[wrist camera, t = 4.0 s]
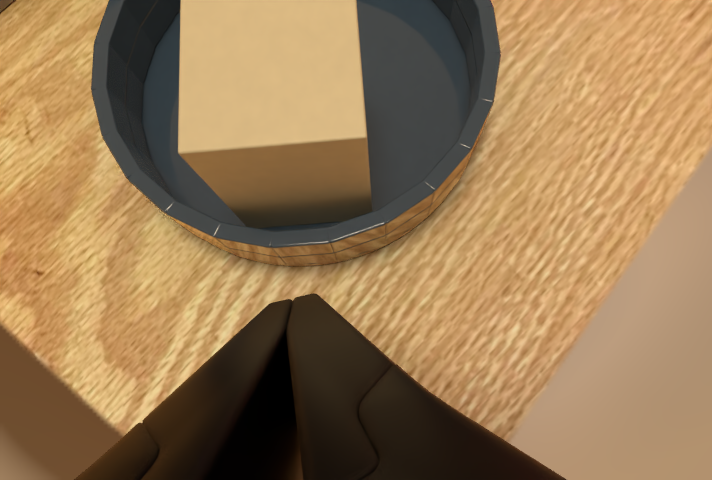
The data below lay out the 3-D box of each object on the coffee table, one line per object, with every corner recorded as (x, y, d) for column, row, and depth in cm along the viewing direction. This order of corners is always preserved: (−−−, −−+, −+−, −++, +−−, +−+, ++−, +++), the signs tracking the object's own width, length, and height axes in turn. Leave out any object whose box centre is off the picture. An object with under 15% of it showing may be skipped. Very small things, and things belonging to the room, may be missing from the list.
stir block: (373, 219, 21) (367, 137, 13) (248, 229, 21) (176, 153, 14) (364, 106, 22) (354, -26, 15) (246, 116, 22) (179, -9, 15)
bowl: (504, 251, 21) (528, 227, 17) (127, 280, 21) (79, 263, 18) (459, -65, 24) (472, -135, 21) (140, -34, 25) (102, -97, 22)
